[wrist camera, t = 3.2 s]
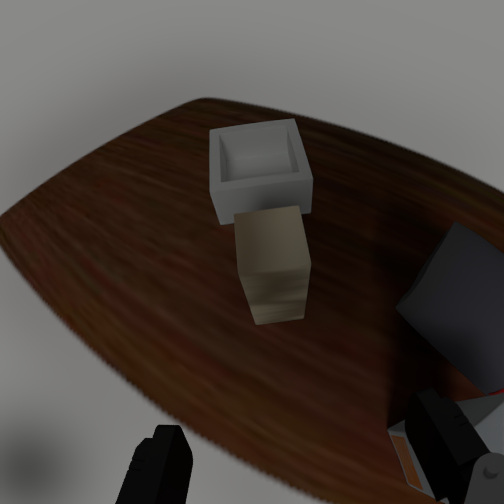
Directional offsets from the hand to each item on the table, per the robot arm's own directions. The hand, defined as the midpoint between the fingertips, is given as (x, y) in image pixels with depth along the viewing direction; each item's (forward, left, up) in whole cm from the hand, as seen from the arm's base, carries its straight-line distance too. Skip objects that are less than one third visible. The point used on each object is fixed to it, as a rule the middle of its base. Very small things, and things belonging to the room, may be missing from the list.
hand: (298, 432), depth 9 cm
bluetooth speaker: (-19, 0, -14) cm, 24 cm away
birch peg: (0, -10, -14) cm, 18 cm away
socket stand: (0, -23, -14) cm, 27 cm away
